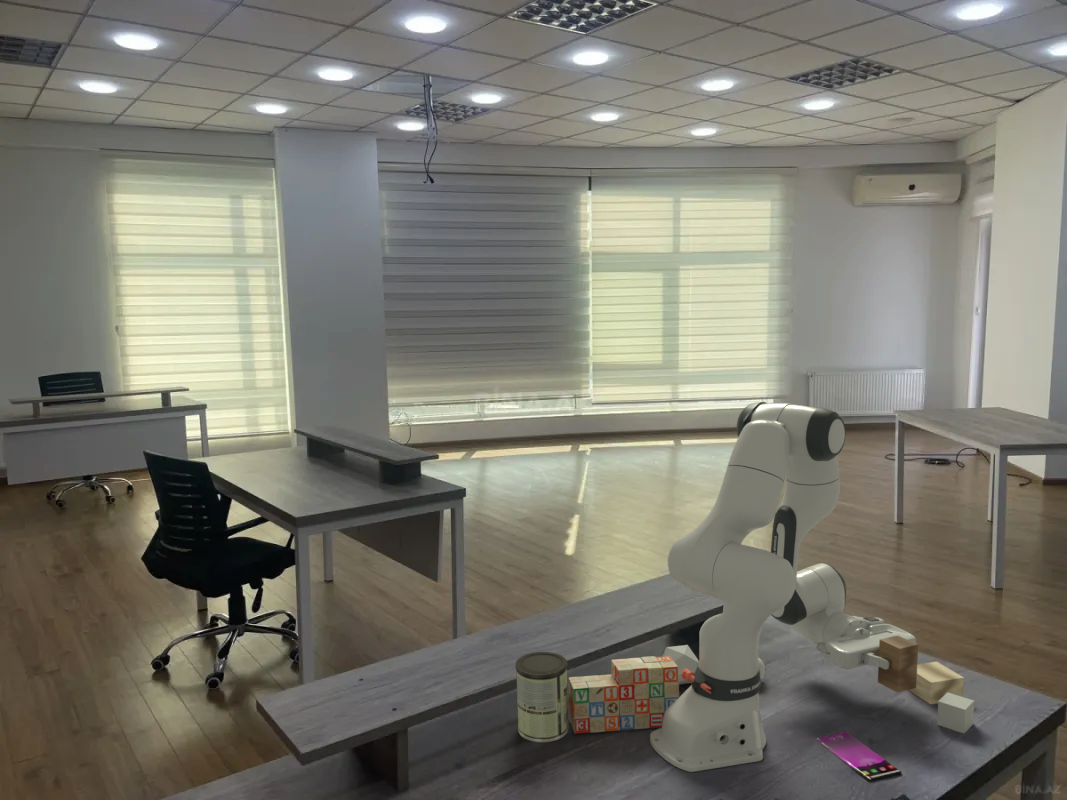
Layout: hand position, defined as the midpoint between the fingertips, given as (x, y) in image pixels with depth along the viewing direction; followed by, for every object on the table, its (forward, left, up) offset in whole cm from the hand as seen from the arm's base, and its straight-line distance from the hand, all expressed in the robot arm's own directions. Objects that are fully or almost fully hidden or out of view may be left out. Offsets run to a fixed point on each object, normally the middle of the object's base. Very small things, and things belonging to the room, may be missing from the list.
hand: (901, 662), depth 163 cm
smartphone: (-17, -6, -13) cm, 22 cm away
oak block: (+15, +5, -12) cm, 20 cm away
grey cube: (+8, -6, -12) cm, 16 cm away
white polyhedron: (-30, +34, -12) cm, 47 cm away
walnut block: (0, +1, -5) cm, 5 cm away
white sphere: (-15, +28, -12) cm, 34 cm away
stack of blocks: (-50, +23, -12) cm, 57 cm away
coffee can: (-66, +29, -12) cm, 73 cm away
